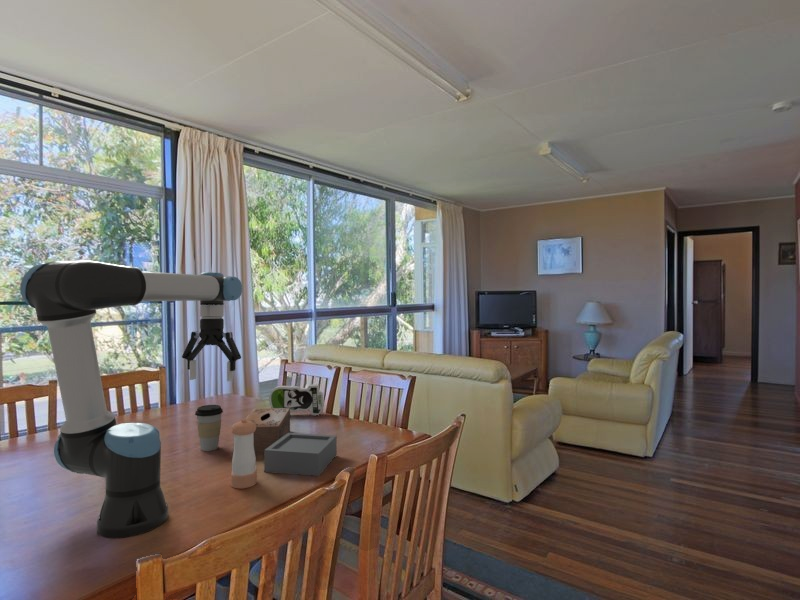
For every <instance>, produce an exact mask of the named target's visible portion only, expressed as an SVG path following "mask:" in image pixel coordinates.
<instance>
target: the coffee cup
mask: <svg viewBox="0 0 800 600" xmlns="http://www.w3.org/2000/svg"><path fill="white" fill-rule="evenodd" d="M196 409H197V410H195V414H194V415H195V416H196V419H197V421H196V423H197V425H196V426H197V432H198V433H197V434H198V438H199V447H200V450H201V451H203V452H211V451H215V450H218V448H219V442H220V435H221V427H222V415H223V414H222V413H224V409H223V408H222V406H221V405H218V404H207V405H201V406H199V407H197V408H196Z"/></svg>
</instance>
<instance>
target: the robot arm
mask: <svg viewBox="0 0 800 600" xmlns="http://www.w3.org/2000/svg"><path fill="white" fill-rule="evenodd" d="M19 287H20V288H19V291H20V295H21V298H22V299H23V301H24V302H25V303H26V304H27V305H29V307H31V308H33V309H35V313H36V318H37V322H38V323H40V324H41V325H43V326H45V327H46V328H47V331H48V337H49V342H50V347H51V352H52V356H53V362H54V367H55V371H56V377H57V382H58V386H59V393H60V397H61V403H62V407H63V412H64V417H65V421H64V422H63V424H61V425H60V428H59V430H60V431H59V432H60V434H59V435H58V437H57V441H55V442H54V447H53V455H54V458H55V460H56V462H57V463H58V465H59V466H60V467H61V468H63V469H65V470H66V471H67V470H68V471H70V472H72V473H76V474H80V475H82V474H83V475H84V474H85V475H90V476H95V477H100V478H105V497H104V500H103V504H102V506H101V509H100V512H99V516H98V517H97V521H96V531H97V534H98V535H99V536H101V537H104V538H108V539H109V538H111V539H121V538H122V539H123V538H129V537H134V536H138V535H141V534H145V533H146V532H149V531H151V530H153V529H155V528H157V527H159V526H161V525H163V523H164V522H166V520H167V519H168V517H169V505H168V503H167V501H166V499H165V495H164V493H163V490H162V487H161V456H162V455H161V453H162V451H161V450H162V442H161V436H160V434H161V433H160V430H159V429H158V428H157V427H156V426H154V425H152V424H149V423H146V422H124V423H120V424H117V419H116V415H115V413H114V412H112V411H109V410H108V409H107V405H106V398H105V393H104V388H103V387H104V386H103V381H102V379H101V378H102V375H101V372H100V366H99V361H98V355H97V350H96V344H95V338H94V333H93V327H92V323H91V322H92V319H93V318H94V317H95V315H97V310H102V309H108V308H115V307H125V306H126V307H127V306H128V307H129V306H132V307H133V306H136V305H139V304H140V303H141V302H180V301H181V302H184V301H185V302H188V301H189V302H192V301H193V302H195V301H196V302H197V301H199V317H200V319H199V329H200V331H198V330H197V331H192V332H191V333H190V338H189V340H188V343H187V344H186V347H185V349H184V351H183V354H182V355H181V358H182V359H184V360H187V370H188V371H189V378H188V379H189V381H190V380H191V381H193V380H196V379H197V359H196V357H197V356H198V355H199V353H200V352H201V351H202V350H203V348H204V347H206V346H217V347H218V348H219V349H220V350H221V351H222V353H223V354H224V356H225V357H226V358H227V359H228V361H227V362H226V382H231V381H234V371H236V362H237V361H238V360H241V359H242V355H241V353H240V351H239V349H238V347H237V344H236V343H235V340H234V338H233V337H234V336H233V332H232V331H229V332H228V331H227V332H224V328H225V326H224V325H225V323H224V322H225V320H224V318H223V317H224V316H225V311H224V310H225V303H224V302H225V301H226V302H230V301H237V300H238V299H239V298H240V297H241V296H242V293H243V283H242V281H241V280H240V278H238V277H237V276H229V275H226V276H225V275H224V274H223V273H221V272H213V271H212V272H209V271H208V272H206V271H205V272H201V273H200V274H190V273H188V274H187V273H175V272H174V273H173V272H160V271H159V272H156V271H145V270H144V271H142V270H141V269H140V268H139V267H136V266H127V265H119V264H113V263H108V262H101V261H94V260H52V261H47V262H42V263H38V264H36V265H34V266H32V267H30V268H29V269H28V271H27V272H26V273H24V275H23V277H22V279H21V282H20V286H19ZM199 338H200V340H199V341H198V339H199ZM224 339H225V340H226V342H225V340H224ZM197 342H198V343H197ZM226 343H227V344H226ZM196 344H197V345H196ZM195 345H196V346H195Z"/></svg>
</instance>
